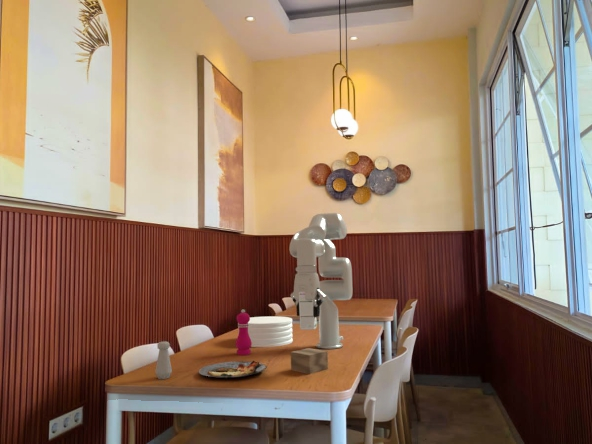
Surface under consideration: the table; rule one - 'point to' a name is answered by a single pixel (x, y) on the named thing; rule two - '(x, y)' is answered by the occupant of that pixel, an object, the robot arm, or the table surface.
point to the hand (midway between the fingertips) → (308, 315)
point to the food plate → (233, 369)
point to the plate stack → (270, 331)
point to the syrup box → (306, 313)
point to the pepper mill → (243, 334)
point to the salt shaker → (163, 361)
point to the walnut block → (309, 360)
